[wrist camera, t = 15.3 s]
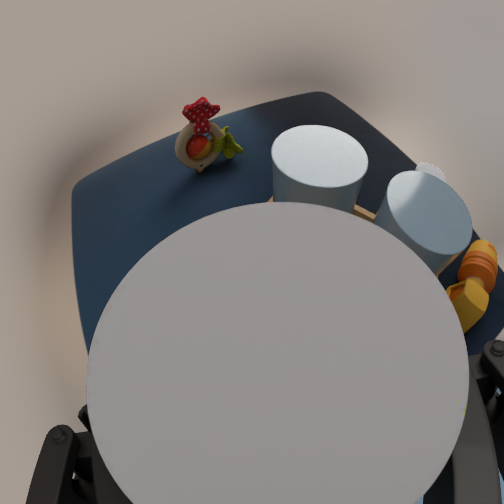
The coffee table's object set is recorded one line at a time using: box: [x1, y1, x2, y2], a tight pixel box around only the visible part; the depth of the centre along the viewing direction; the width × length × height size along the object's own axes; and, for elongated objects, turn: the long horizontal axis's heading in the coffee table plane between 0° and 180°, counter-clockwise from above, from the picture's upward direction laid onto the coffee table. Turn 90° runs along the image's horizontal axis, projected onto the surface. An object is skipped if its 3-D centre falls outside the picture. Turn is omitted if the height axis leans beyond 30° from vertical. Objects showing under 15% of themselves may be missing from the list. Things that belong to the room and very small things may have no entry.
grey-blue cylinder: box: [372, 171, 472, 277], centre depth 22 cm, size 8×8×12 cm
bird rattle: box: [175, 97, 243, 173], centre depth 35 cm, size 6×11×9 cm
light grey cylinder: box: [86, 202, 469, 504], centre depth 10 cm, size 8×8×12 cm
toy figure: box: [446, 239, 498, 334], centre depth 24 cm, size 5×6×12 cm
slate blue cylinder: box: [271, 125, 368, 215], centre depth 26 cm, size 8×8×12 cm
